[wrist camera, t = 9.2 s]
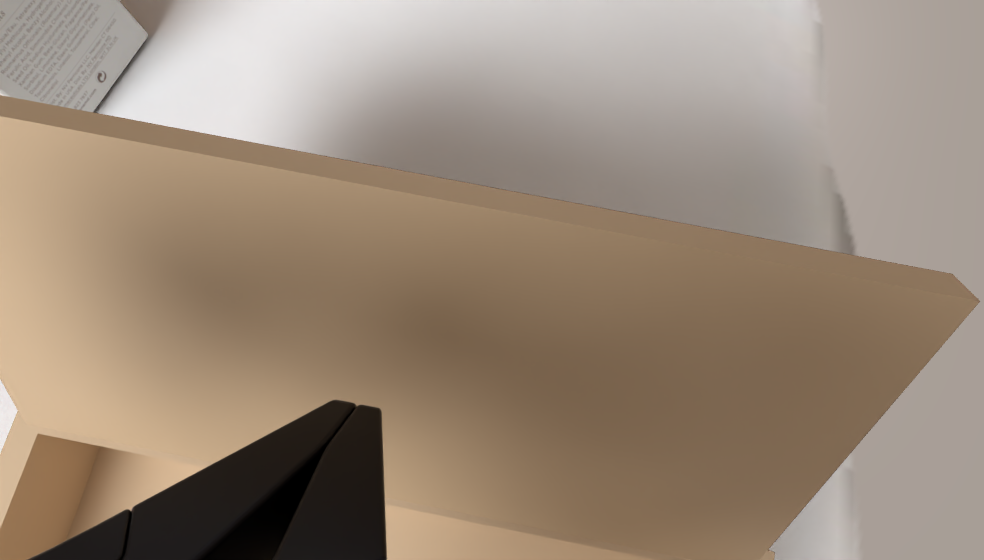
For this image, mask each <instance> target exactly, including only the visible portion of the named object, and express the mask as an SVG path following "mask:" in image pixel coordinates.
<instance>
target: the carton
mask: <svg viewBox="0 0 984 560" xmlns="http://www.w3.org/2000/svg"><path fill="white" fill-rule="evenodd" d="M213 463H214V462H209V461H205V460H200V459H195V458H190V457H185V456H180V455H175V454H170V453H165V452H160V451H155V450H151V449H146V448H141V447H136V446H131V445H126V444H121V443H116V442H111V441H106V440H102V439H97V438H92V437H87V436H82V435H77V434H72V433H67V432H62V431H57V430H52V429H48V428H43V427H38V426H33V425H28V424H25V422H24V420H23V418H22V417H21V415H20V413H19V411H18V412H17V414H16V417H15V419H14V421H13V424H12V426H11V429H10V431H9V434H8V436H7V439H6V441H5V444H4V446H3V449H2V451H1V454H0V560H27V559H29V558H31V557H33V556H35V555H38V554H40V553H42V552H44V551H46V550H48V549H50V548H52V547H54V546H56V545H58V544H60V543H62V542H64V541H66V540H68V539H70V538H72V537H74V536H76V535H78V534H80V533H82V532H84V531H85V530H87V529H89V528H91V527H93V526H95V525H97V524H99V523H101V522H103V521H105V520H107V519H108V518H110V517H112V516H114V515H116V514H118V513H120V512H122V511H124V510H126V509H129V510H132V508H133V506H135V505H137V504H138V503H140V502H142V501H144V500H146V499H148V498H150V497H152V496H153V495H155V494H157V493H159V492H161V491H163V490H165V489H167V488H168V487H170V486H172V485H174V484H176V483H178V482H180V481H181V480H183V479H185V478H187V477H189V476H191V475H193V474H195V473H196V472H198V471H200V470H202V469H204V468H206V467H208V466H210V465H211V464H213ZM385 516H386V543H387V560H690V559H685V558H680V557H676V556H671V555H666V554H661V553H656V552H651V551H646V550H641V549H636V548H631V547H626V546H622V545H617V544H612V543H607V542H602V541H597V540H592V539H587V538H582V537H577V536H573V535H568V534H563V533H558V532H553V531H548V530H543V529H538V528H533V527H528V526H523V525H519V524H514V523H509V522H504V521H499V520H494V519H489V518H484V517H479V516H474V515H469V514H465V513H460V512H455V511H450V510H445V509H440V508H435V507H430V506H425V505H420V504H416V503H411V502H406V501H401V500H396V499H391V498H386V497H385ZM774 555H775V552H773V551H770V550H767V552H766V553H765V554H764V555H763V556H762V558H761V559H760V560H774Z"/></svg>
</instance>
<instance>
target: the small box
mask: <svg viewBox="0 0 984 560" xmlns="http://www.w3.org/2000/svg"><path fill="white" fill-rule="evenodd" d="M147 37H148V33H147V32H146V31H145V30H144V29H143V27H142V26H141V25H140V24H139V23H138V22H137V21H136V20H135V18H134V17H133V16H132V15H131V14H130V13H129V11H128V10H127V9H126V8H125V7H124V6H123V5H122V3H121V2H120V1H119V0H0V95H2V96H8V97H13V98H18V99H24V100H29V101H34V102H40V103H45V104H50V105H56V106H61V107H66V108H72V109H77V110H82V111H87V112H94V110H95V109H96V108H97V106H98V105H99V103H100V102H101V101H102V99H103V98H104V97H105V95H106V94H107V92H108V91H109V90H110V88H111V87H112V85H113V84H114V83H115V81H116V80H117V79H118V77H119V76H120V74H121V73H122V72H123V70H124V69H125V68H126V66H127V65H128V64H129V62H130V61H131V59H132V58H133V57H134V55H135V54H136V52H137V51H138V50H139V48H140V47H141V45H142V44H143V43H144V41H145V40H146V39H147Z"/></svg>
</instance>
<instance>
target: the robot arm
mask: <svg viewBox="0 0 984 560" xmlns="http://www.w3.org/2000/svg"><path fill="white" fill-rule="evenodd" d="M27 560H387V543H386V516H385V488H384V460H383V433H382V411H381V409H380V408H377V407H372V406H367V405H358V406H357V405H356V404H355V403H352V402H347V401H342V400H332V401H329V402H327V403H326V404H324V405H322V406H320V407H318V408H316V409H314V410H312V411H311V412H309V413H307V414H305V415H303V416H301V417H299V418H298V419H296V420H294V421H292V422H290V423H288V424H286V425H284V426H283V427H281V428H279V429H277V430H275V431H273V432H271V433H269V434H268V435H266V436H264V437H262V438H260V439H258V440H256V441H254V442H253V443H251V444H249V445H247V446H245V447H243V448H241V449H239V450H238V451H236V452H234V453H232V454H230V455H228V456H226V457H225V458H223V459H221V460H219V461H217V462H215V463H213V464H211V465H210V466H208V467H206V468H204V469H202V470H200V471H198V472H196V473H195V474H193V475H191V476H189V477H187V478H185V479H183V480H181V481H180V482H178V483H176V484H174V485H172V486H170V487H168V488H167V489H165V490H163V491H161V492H159V493H157V494H155V495H153V496H152V497H150V498H148V499H146V500H144V501H142V502H140V503H138V504H137V505H135V506H133V508H132V510H129V509H126V510H124V511H122V512H120V513H118V514H116V515H114V516H112V517H110V518H108V519H107V520H105V521H103V522H101V523H99V524H97V525H95V526H93V527H91V528H89V529H87V530H85V531H84V532H82V533H80V534H78V535H76V536H74V537H72V538H70V539H68V540H66V541H64V542H62V543H60V544H58V545H56V546H54V547H52V548H50V549H48V550H46V551H44V552H42V553H40V554H38V555H35V556H33V557H31V558H29V559H27Z"/></svg>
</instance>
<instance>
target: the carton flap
mask: <svg viewBox="0 0 984 560" xmlns="http://www.w3.org/2000/svg"><path fill="white" fill-rule="evenodd" d="M979 302H980V301H979V300H978V299H977V298H976V297H975V296H974V295H973V294H972V293H971V292H970V291H969V290H968V289H967V288H966V287H965V286H964V285H963V284H962V283H961V282H960V281H959V280H958V279H957V278H956V277H955V276H954V275H953V274H950V273H944V272H939V271H934V270H929V269H923V268H918V267H913V266H907V265H902V264H897V263H891V262H886V261H881V260H875V259H870V258H864V257H859V256H854V255H849V254H844V253H838V252H833V251H828V250H822V249H817V248H812V247H806V246H801V245H796V244H790V243H785V242H780V241H774V240H769V239H764V238H758V237H753V236H748V235H742V234H737V233H732V232H726V231H721V230H716V229H710V228H705V227H700V226H694V225H689V224H684V223H678V222H673V221H668V220H663V219H657V218H652V217H647V216H641V215H636V214H631V213H625V212H620V211H615V210H609V209H604V208H599V207H593V206H588V205H583V204H577V203H572V202H567V201H561V200H556V199H551V198H545V197H540V196H535V195H529V194H524V193H519V192H513V191H508V190H503V189H497V188H492V187H487V186H481V185H476V184H471V183H466V182H460V181H455V180H450V179H444V178H439V177H434V176H428V175H423V174H418V173H412V172H407V171H402V170H396V169H391V168H386V167H380V166H375V165H370V164H364V163H359V162H354V161H348V160H343V159H338V158H332V157H327V156H322V155H316V154H311V153H306V152H300V151H295V150H290V149H284V148H279V147H274V146H269V145H263V144H258V143H253V142H247V141H242V140H237V139H231V138H226V137H221V136H215V135H210V134H205V133H199V132H194V131H189V130H183V129H178V128H173V127H167V126H162V125H157V124H151V123H146V122H141V121H135V120H130V119H125V118H119V117H114V116H109V115H103V114H98V113H93V112H87V111H82V110H77V109H72V108H66V107H61V106H56V105H50V104H45V103H40V102H34V101H29V100H24V99H18V98H13V97H8V96H2V95H0V379H1V381H2V383H3V385H4V386H5V388H6V390H7V392H8V393H9V395H10V397H11V399H12V401H13V402H14V404H15V406H16V408H17V410H18V411H19V413H20V415H21V417H22V418H23V420H24V422H25V424H28V425H33V426H38V427H43V428H48V429H52V430H57V431H62V432H67V433H72V434H77V435H82V436H87V437H92V438H97V439H102V440H106V441H111V442H116V443H121V444H126V445H131V446H136V447H141V448H146V449H151V450H155V451H160V452H165V453H170V454H175V455H180V456H185V457H190V458H195V459H200V460H205V461H209V462H214V463H215V462H217V461H219V460H221V459H223V458H225V457H226V456H228V455H230V454H232V453H234V452H236V451H238V450H239V449H241V448H243V447H245V446H247V445H249V444H251V443H253V442H254V441H256V440H258V439H260V438H262V437H264V436H266V435H268V434H269V433H271V432H273V431H275V430H277V429H279V428H281V427H283V426H284V425H286V424H288V423H290V422H292V421H294V420H296V419H298V418H299V417H301V416H303V415H305V414H307V413H309V412H311V411H312V410H314V409H316V408H318V407H320V406H322V405H324V404H326V403H327V402H329V401H332V400H342V401H347V402H352V403H355V404H356V405H357V406H358V405H367V406H372V407H377V408H380V409H381V411H382V433H383V460H384V488H385V497H386V498H391V499H396V500H401V501H406V502H411V503H416V504H420V505H425V506H430V507H435V508H440V509H445V510H450V511H455V512H460V513H465V514H469V515H474V516H479V517H484V518H489V519H494V520H499V521H504V522H509V523H514V524H519V525H523V526H528V527H533V528H538V529H543V530H548V531H553V532H558V533H563V534H568V535H573V536H577V537H582V538H587V539H592V540H597V541H602V542H607V543H612V544H617V545H622V546H626V547H631V548H636V549H641V550H646V551H651V552H656V553H661V554H666V555H671V556H676V557H680V558H685V559H690V560H760V559H761V558H762V556H763V555H764V554H765V553H766V552H767V550H768V549H769V548H770V547H771V546H772V545H773V543H774V542H775V541H776V540H777V539H778V538H779V536H780V535H781V534H782V533H783V532H784V531H785V529H786V528H787V527H788V526H789V525H790V524H791V522H792V521H793V520H794V519H795V518H796V516H797V515H798V514H799V513H800V512H801V511H802V509H803V508H804V507H805V506H806V505H807V504H808V502H809V501H810V500H811V499H812V498H813V497H814V495H815V494H816V493H817V492H818V491H819V490H820V488H821V487H822V486H823V485H824V484H825V483H826V481H827V480H828V479H829V478H830V477H831V475H832V474H833V473H834V472H835V471H836V470H837V468H838V467H839V466H840V465H841V464H842V463H843V461H844V460H845V459H846V458H847V457H848V456H849V454H850V453H851V452H852V451H853V450H854V449H855V447H856V446H857V445H858V444H859V443H860V441H861V440H862V439H863V438H864V437H865V436H866V434H867V433H868V432H869V431H870V430H871V428H872V427H873V426H874V425H875V424H876V423H877V422H878V420H879V419H880V418H881V417H882V416H883V414H884V413H885V412H886V411H887V410H888V409H889V407H890V406H891V405H892V404H893V403H894V402H895V400H896V399H897V398H898V397H899V396H900V395H901V393H902V392H903V391H904V390H905V388H907V386H908V385H909V384H910V383H911V382H912V381H913V379H914V378H915V377H916V376H917V375H918V374H919V372H920V371H921V370H922V369H923V368H924V366H925V365H926V364H927V363H928V362H929V361H930V359H931V358H932V357H933V356H934V355H935V354H936V352H937V351H938V350H939V349H940V348H941V347H942V345H943V344H944V343H945V342H946V341H947V340H948V338H949V337H950V336H951V335H952V334H953V332H954V331H955V330H956V329H957V328H958V327H959V325H960V324H961V323H962V322H963V321H964V319H965V318H966V317H967V316H968V315H969V314H970V313H971V311H972V310H973V309H974V308H975V307H976V306H977V304H978V303H979Z"/></svg>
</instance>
